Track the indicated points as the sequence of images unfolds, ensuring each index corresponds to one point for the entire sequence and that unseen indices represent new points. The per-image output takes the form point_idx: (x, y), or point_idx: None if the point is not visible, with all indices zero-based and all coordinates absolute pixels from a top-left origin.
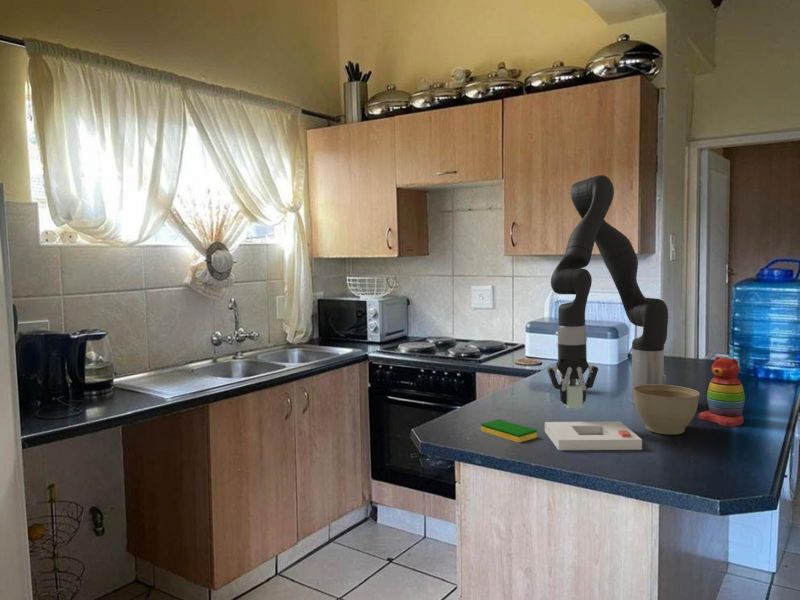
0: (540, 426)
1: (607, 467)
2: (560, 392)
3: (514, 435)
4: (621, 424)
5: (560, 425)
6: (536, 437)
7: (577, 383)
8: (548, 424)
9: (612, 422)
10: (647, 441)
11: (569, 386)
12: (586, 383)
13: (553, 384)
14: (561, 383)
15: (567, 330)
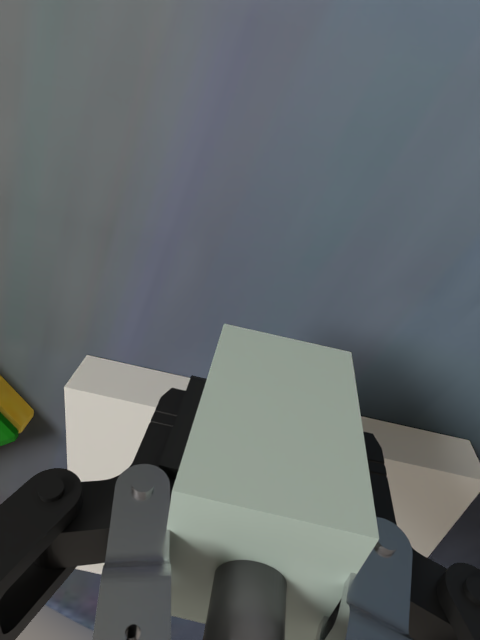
0: (83, 271)
1: (179, 630)
2: (137, 461)
3: None
4: (447, 516)
5: (132, 452)
6: (31, 416)
7: (339, 569)
8: (75, 423)
9: (431, 482)
10: (455, 554)
11: (178, 608)
12: (422, 628)
13: (21, 511)
14: (119, 542)
15: None
